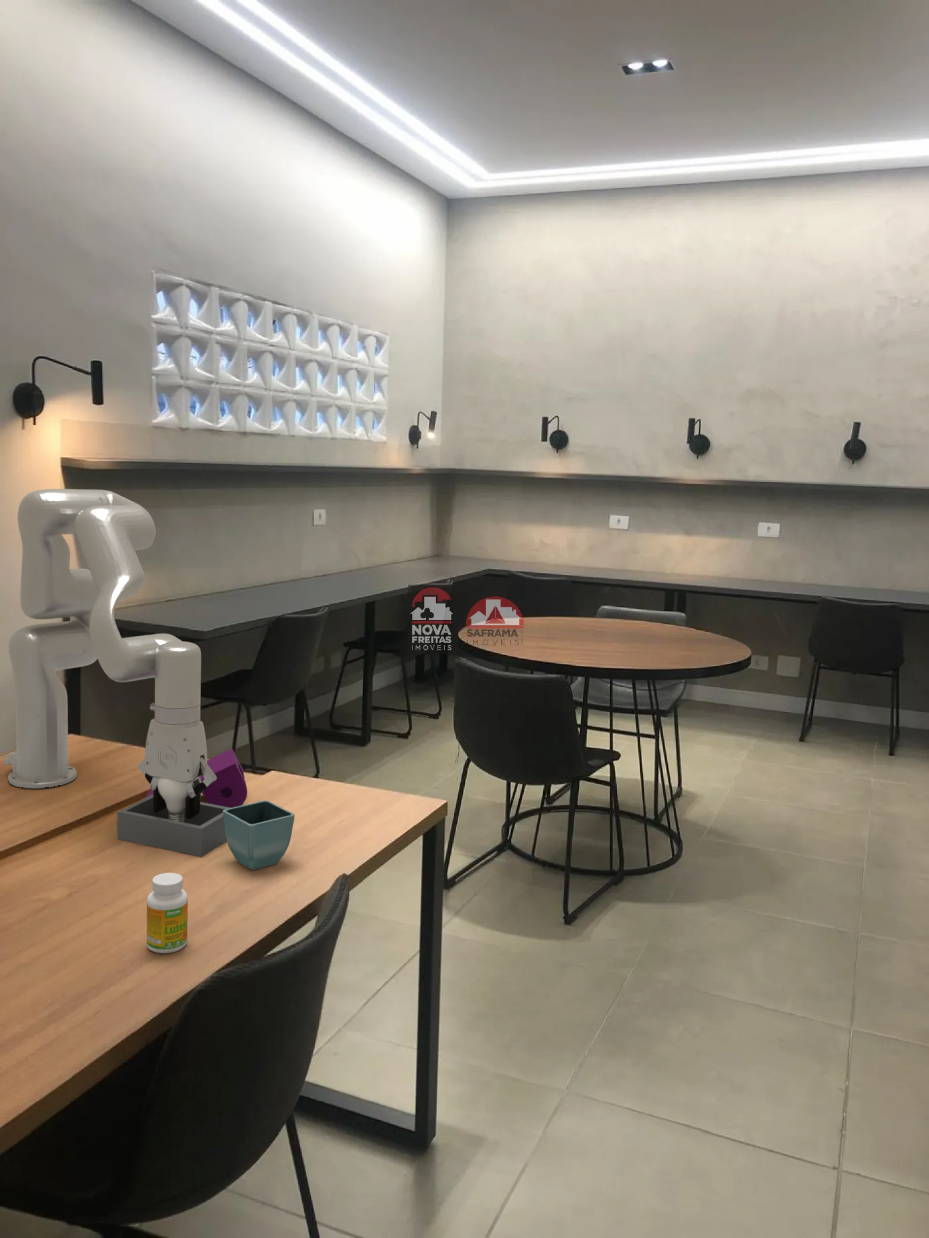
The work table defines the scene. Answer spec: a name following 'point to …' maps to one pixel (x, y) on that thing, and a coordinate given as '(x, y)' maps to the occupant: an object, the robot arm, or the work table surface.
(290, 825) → the flower pot
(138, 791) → the work table surface
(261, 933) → the work table surface
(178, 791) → the lightbulb
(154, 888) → the supplement bottle
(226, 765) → the mounting bracket
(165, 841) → the open box
